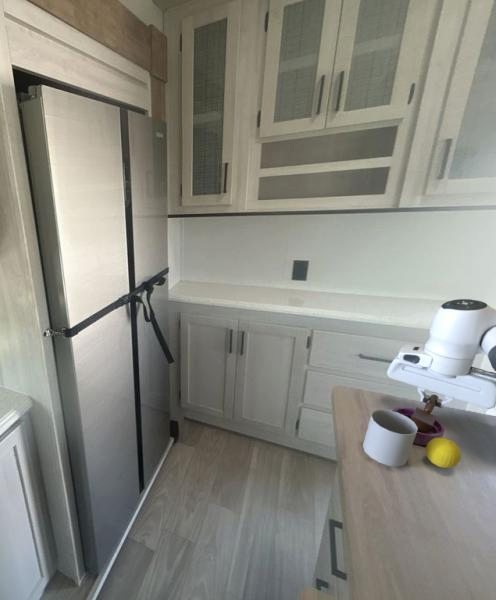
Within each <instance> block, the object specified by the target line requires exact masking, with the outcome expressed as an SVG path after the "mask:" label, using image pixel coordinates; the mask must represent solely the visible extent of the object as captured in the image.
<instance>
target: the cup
mask: <svg viewBox="0 0 496 600" xmlns="http://www.w3.org/2000/svg"><path fill="white" fill-rule="evenodd" d="M417 430H418V427H417V426H416V424H415V422H413V421H412V420H411V419H409V418H408V417H406V416H404V415H402V414H400V413H398V412H394V411H392V410H390V409H377V410H374V411H372V413H371V414H370V418H369V421H368V424H367V429H366V433H365V437H364V440H363V443H362V448H363V450H364V452H365V453H366V454H367V456H369V458H371V459H373V460H374V461H376V462H377V463H379V464H381V465H384V466H388V467H391V468H392V467H393V468H401V467H403V466H405V465H407V461H408V459H409V455H410V453H411V449H412V446H413V445H414V443H413V441H414V438H415V436H416V433H417Z"/></svg>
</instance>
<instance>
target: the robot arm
mask: <svg viewBox="0 0 496 600" xmlns="http://www.w3.org/2000/svg"><path fill="white" fill-rule="evenodd" d="M478 354H483V355H486V356H487V359H488V361H489V363H490V366H491V367H492V370H494V371H488V370H485V369H483V368H478V367H475V366H473V364H474V361H475V358H476V356H477V355H478ZM386 375H387V377H388V378H389V379H391V380H395V381H397V382H400V383H403V384H408V385H410V386H414V387H417V392H418V394H419V395H420V399H419V402H421V403H425V404H426V403H427V401H428V400H429V398H430V396H431V395H430V394H427V393H426V391H430V392H431V393H436V394H439V395H442V396H444V398H439V399H437V402H436V405H435V407H436V408H438V409H444V407H445V405H446V404H448V403H451V402H452V401H453V399H455V400H458V401H461V402H464V403H468V404H471V405H474V406H477V407H480V408H482V409H483V408H484V409H487V410H490V409H494V408H496V308H494V307H491V306H490V305H489V304H488V303H486V302H484V301H481V300H476V299H469V298H457V299H452V300H448V301H446V302H444V303H442V304H441V305H440V306H439V307H438V309H437V311H436V313H435V314H434V317H433V319H432V322H431V324H430V328H429V338H428V340H427V341H426V342H425V344H411V343H407V344H404V345H403V346H402V347H401V348H400V350H399V351H398V354H396V355H395V357H394V358H393V360H392V362H391V363H390V365H389V366H388V369H387V371H386Z"/></svg>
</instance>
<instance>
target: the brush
mask: <svg viewBox="0 0 496 600" xmlns="http://www.w3.org/2000/svg"><path fill="white" fill-rule="evenodd" d="M429 396H430V398H429V400H428V401H427V403H425V405H424V407H423V409H422V408H419V407H416V408H415V409H416V410H415V411H414V413H413V415H412V416H411V418H410V419H411V420H412V421H413V422H415V424H416V426H417V427H418V430H417V432H421V433H426V434H428V432H429V431H430V429H431V428H432V426H433V424H434V422H435V420H436V419H437V418H438V416H437V415H435V414H433V413H432V412H433V411H434V409H435V407H436V406H435V405H436V402H437V399H440V398H439V396H438V395H437V394H431V395H429Z"/></svg>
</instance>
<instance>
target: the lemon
mask: <svg viewBox="0 0 496 600" xmlns="http://www.w3.org/2000/svg"><path fill="white" fill-rule="evenodd" d="M425 455H426V457H427V459H428V461H430V463H432V464H433V465H435V466H436V467H440V468H443V469H452V468H454V467H456V466H457V465H458V464H459V463H460V461H461V459H462V452H461V448H460V447H459V446H458V444H456V443H455V442H454V441H452V440H451V439H449V438H445V437H442V438H434V439H432V440H431V441H430V442H429V443H428V444H427V446H425Z"/></svg>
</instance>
